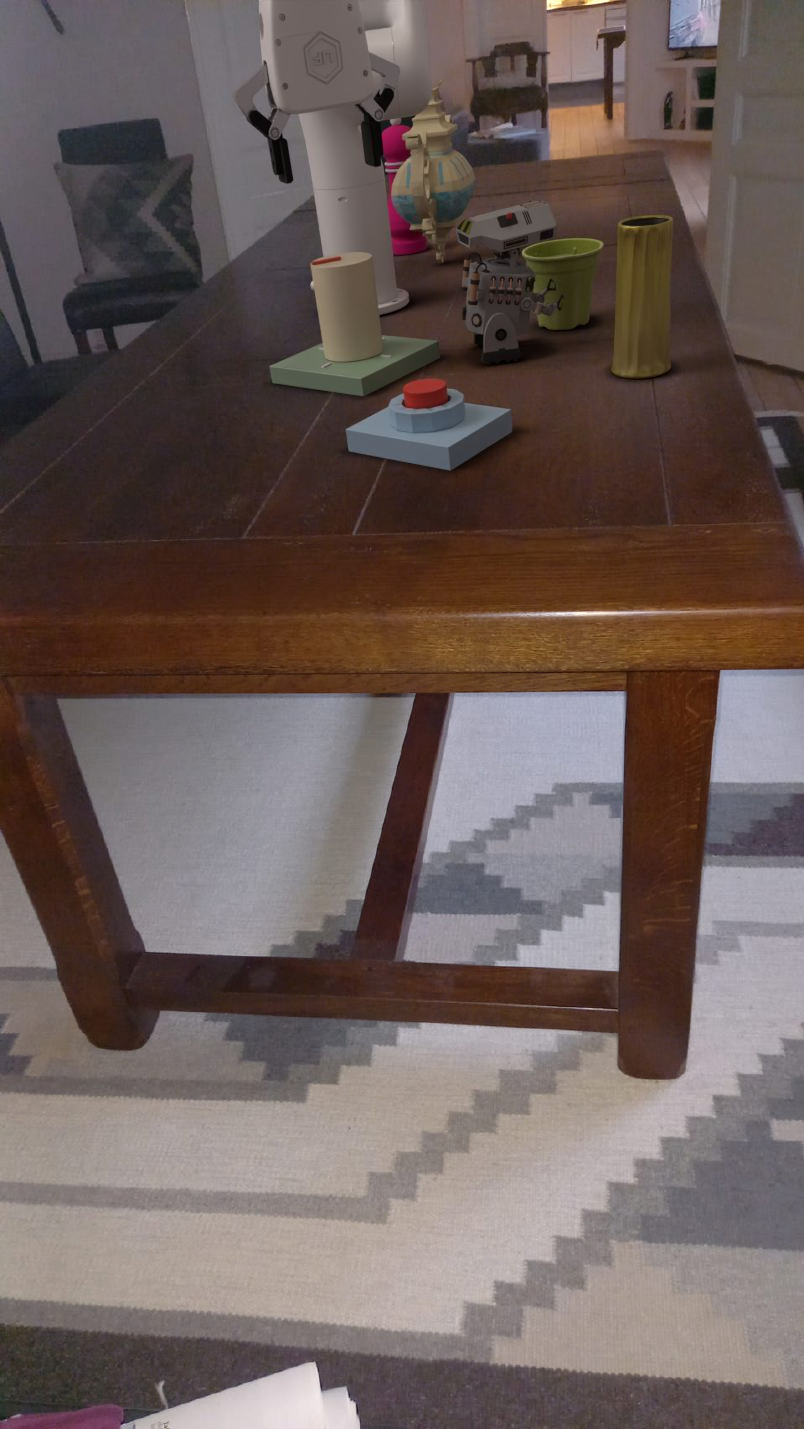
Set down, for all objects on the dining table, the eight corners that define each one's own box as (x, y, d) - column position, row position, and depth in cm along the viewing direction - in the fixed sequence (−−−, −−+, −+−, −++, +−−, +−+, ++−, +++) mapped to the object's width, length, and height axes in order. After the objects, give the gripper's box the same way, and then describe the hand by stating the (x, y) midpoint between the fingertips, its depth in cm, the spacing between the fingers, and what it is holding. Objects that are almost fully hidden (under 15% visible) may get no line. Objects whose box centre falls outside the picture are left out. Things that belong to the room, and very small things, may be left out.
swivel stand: (272, 383, 114) (268, 364, 112) (350, 348, 122) (347, 330, 121) (363, 397, 106) (361, 377, 105) (440, 358, 114) (438, 339, 113)
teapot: (462, 280, 145) (444, 34, 127) (387, 284, 148) (359, 45, 130) (490, 244, 163) (477, 25, 145) (423, 249, 166) (403, 35, 148)
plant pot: (601, 332, 115) (601, 253, 110) (521, 337, 117) (517, 259, 112) (604, 311, 122) (604, 235, 117) (528, 316, 125) (526, 242, 120)
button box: (348, 451, 93) (342, 410, 91) (412, 416, 99) (408, 376, 97) (450, 471, 87) (446, 427, 84) (512, 432, 92) (510, 389, 90)
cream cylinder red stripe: (371, 340, 116) (359, 246, 110) (392, 353, 111) (380, 255, 105) (317, 352, 115) (302, 257, 109) (335, 366, 109) (320, 267, 103)
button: (396, 409, 91) (394, 390, 90) (422, 395, 93) (420, 376, 92) (430, 414, 88) (429, 394, 87) (456, 399, 91) (455, 380, 90)
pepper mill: (438, 246, 167) (426, 109, 155) (415, 256, 162) (402, 115, 150) (402, 246, 170) (388, 112, 159) (379, 256, 165) (363, 118, 154)
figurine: (571, 355, 110) (570, 206, 101) (469, 368, 110) (459, 221, 101) (556, 333, 117) (554, 193, 108) (460, 346, 117) (450, 207, 108)
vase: (674, 360, 104) (681, 212, 96) (667, 379, 99) (674, 225, 91) (616, 361, 106) (618, 216, 98) (606, 380, 101) (607, 229, 93)
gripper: (222, -22, 87) (260, 193, 97) (401, -46, 91) (420, 163, 101) (204, -17, 93) (241, 185, 103) (373, -40, 97) (394, 156, 107)
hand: (330, 173), depth 102 cm, fingers open, 9 cm apart
